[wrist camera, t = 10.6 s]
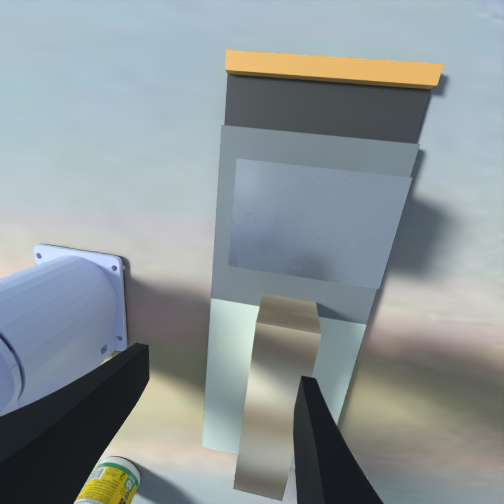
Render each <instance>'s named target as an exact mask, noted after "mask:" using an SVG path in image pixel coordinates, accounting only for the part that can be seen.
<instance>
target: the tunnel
mask: <svg viewBox="0 0 504 504" xmlns="http://www.w3.org/2000/svg"><path fill="white" fill-rule="evenodd" d="M411 181H412V178H409V177H400V176H391V175H382V174H373V173H364V172H355V171H346V170H337V169H328V168H319V167H310V166H301V165H291V164H282V163H273V162H264V161H255V160H246V159H237V162H236V174H235V186H234V198H233V210H232V223H231V235H230V247H229V259H228V266H232V267H239V268H245V269H252V270H258V271H264V272H271V273H277V274H284V275H290V276H296V277H303V278H309V279H316V280H322V281H328V282H335V283H341V284H348V285H354V286H360V287H367V288H373V289H379V288H380V285H381V281H382V278H383V275H384V271H385V268H386V265H387V261H388V258H389V255H390V251H391V248H392V245H393V241H394V238H395V235H396V231H397V228H398V225H399V221H400V218H401V215H402V211H403V208H404V205H405V201H406V198H407V194H408V191H409V188H410V184H411Z"/></svg>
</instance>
